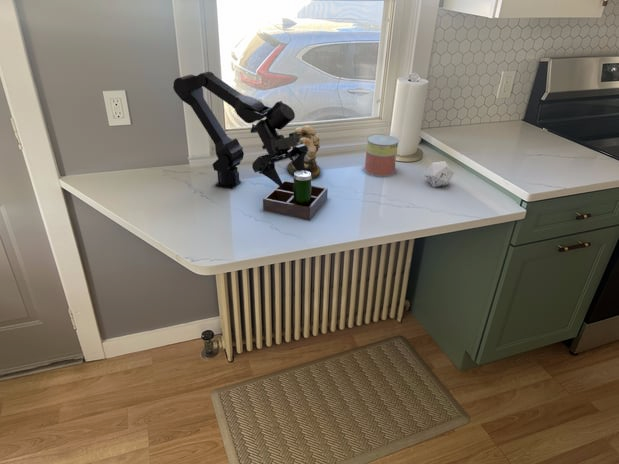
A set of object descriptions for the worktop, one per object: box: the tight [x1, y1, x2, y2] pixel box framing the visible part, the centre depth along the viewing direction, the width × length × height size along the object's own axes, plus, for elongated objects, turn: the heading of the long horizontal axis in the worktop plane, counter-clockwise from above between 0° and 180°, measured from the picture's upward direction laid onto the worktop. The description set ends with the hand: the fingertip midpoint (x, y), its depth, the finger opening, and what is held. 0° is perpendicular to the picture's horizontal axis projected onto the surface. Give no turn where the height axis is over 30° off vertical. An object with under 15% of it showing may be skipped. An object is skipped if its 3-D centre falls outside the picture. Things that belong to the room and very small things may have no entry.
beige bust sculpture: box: [286, 124, 321, 180], centre depth 168 cm, size 18×12×17 cm, turn 18°
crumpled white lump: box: [424, 160, 455, 188], centre depth 162 cm, size 8×9×10 cm
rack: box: [262, 179, 329, 221], centre depth 147 cm, size 16×16×4 cm
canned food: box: [364, 134, 400, 177], centre depth 171 cm, size 11×11×12 cm
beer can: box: [293, 171, 313, 207], centre depth 141 cm, size 5×5×12 cm
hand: (293, 182), depth 142 cm, fingers open, 9 cm apart
